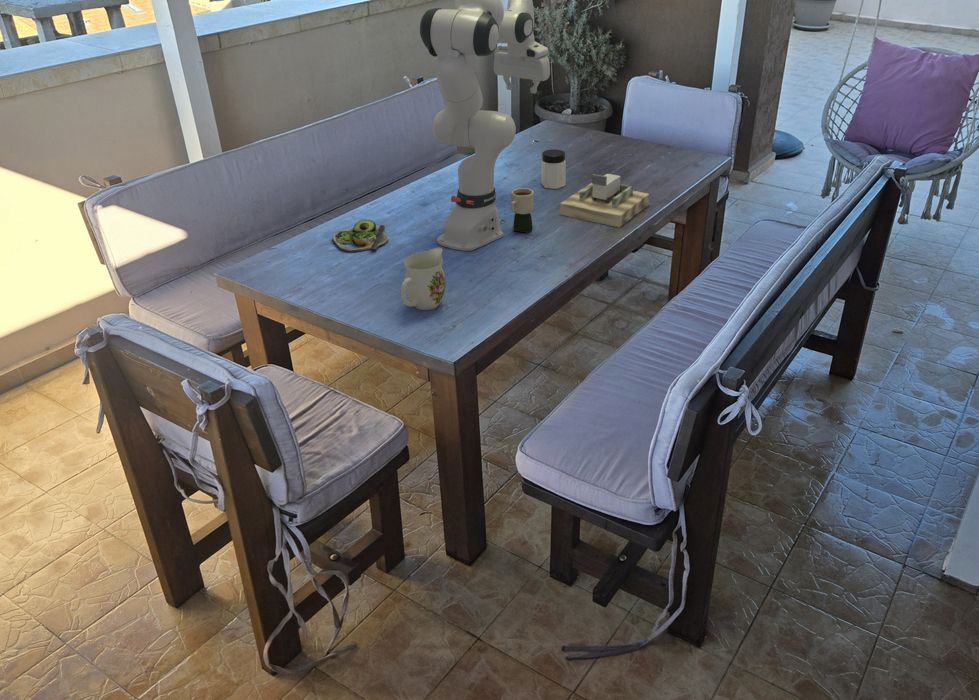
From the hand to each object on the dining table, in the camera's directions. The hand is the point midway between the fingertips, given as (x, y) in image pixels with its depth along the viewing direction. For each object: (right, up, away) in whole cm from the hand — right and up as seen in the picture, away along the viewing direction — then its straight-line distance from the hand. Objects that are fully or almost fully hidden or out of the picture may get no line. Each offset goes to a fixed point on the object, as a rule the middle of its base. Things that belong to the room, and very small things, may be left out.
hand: (521, 91), depth 281 cm
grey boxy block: (+28, -35, +2) cm, 45 cm away
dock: (+28, -39, +4) cm, 48 cm away
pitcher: (-28, -74, -50) cm, 94 cm away
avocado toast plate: (-52, -51, -10) cm, 74 cm away
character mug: (0, -48, -9) cm, 48 cm away
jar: (+13, -27, +25) cm, 39 cm away
